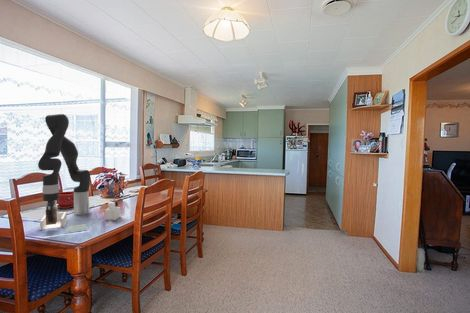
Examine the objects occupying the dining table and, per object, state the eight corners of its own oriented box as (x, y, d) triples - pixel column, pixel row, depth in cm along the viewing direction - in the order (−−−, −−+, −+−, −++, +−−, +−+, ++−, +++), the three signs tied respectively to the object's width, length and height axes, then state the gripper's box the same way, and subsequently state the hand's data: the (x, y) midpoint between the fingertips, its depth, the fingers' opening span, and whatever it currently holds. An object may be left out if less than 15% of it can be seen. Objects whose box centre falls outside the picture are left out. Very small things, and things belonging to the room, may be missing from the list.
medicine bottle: (110, 216, 165) (110, 200, 165) (120, 217, 165) (120, 200, 164) (105, 219, 158) (105, 202, 157) (115, 220, 158) (115, 203, 157)
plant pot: (60, 210, 177) (60, 195, 176) (53, 207, 184) (53, 193, 184) (79, 207, 188) (79, 192, 187) (72, 204, 195) (72, 190, 195)
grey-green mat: (87, 225, 146) (87, 224, 146) (86, 230, 137) (85, 229, 137) (67, 228, 141) (67, 226, 141) (65, 233, 132) (65, 231, 132)
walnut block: (57, 221, 138) (56, 207, 138) (55, 223, 135) (55, 208, 134) (47, 222, 136) (47, 207, 136) (46, 225, 132) (45, 209, 132)
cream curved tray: (67, 220, 155) (67, 211, 155) (64, 228, 141) (64, 218, 141) (45, 223, 149) (44, 214, 149) (39, 231, 135) (38, 221, 135)
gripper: (56, 193, 130) (57, 223, 131) (60, 189, 142) (61, 216, 143) (39, 195, 126) (40, 225, 127) (45, 190, 139) (46, 217, 140)
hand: (51, 220), depth 135 cm, fingers closed on walnut block, 4 cm apart
